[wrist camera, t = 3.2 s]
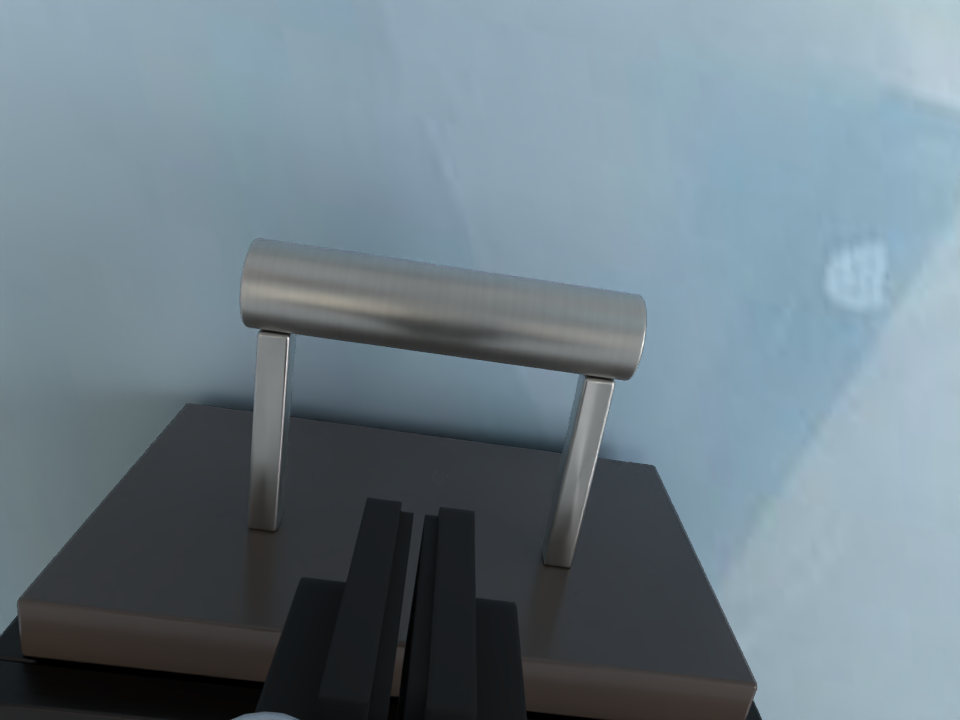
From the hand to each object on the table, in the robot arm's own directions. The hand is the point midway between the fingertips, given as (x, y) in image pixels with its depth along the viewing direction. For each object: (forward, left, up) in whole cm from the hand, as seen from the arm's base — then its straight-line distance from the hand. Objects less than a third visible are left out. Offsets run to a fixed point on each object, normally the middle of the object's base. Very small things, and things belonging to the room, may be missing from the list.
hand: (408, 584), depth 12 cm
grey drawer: (+4, +4, -8) cm, 10 cm away
